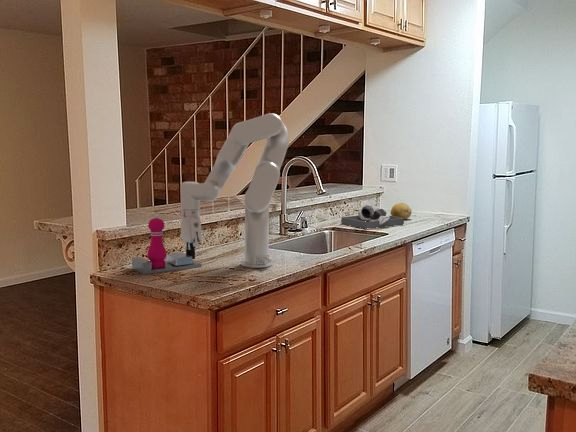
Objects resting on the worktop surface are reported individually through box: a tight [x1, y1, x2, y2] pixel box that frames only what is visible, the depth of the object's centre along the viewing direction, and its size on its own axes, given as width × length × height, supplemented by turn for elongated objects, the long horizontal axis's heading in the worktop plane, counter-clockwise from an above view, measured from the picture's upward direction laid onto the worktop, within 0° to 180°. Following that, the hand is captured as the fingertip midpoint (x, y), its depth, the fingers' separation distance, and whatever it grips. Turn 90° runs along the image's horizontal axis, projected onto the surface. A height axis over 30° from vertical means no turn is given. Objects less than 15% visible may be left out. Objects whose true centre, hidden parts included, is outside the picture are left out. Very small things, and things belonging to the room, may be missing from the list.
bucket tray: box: [340, 215, 405, 230], centre depth 339 cm, size 21×29×4 cm
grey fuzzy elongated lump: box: [357, 205, 391, 225], centre depth 337 cm, size 25×10×10 cm, turn 26°
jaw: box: [165, 252, 193, 265], centre depth 232 cm, size 9×7×3 cm
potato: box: [390, 202, 412, 220], centre depth 360 cm, size 10×12×10 cm
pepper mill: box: [146, 213, 168, 268], centre depth 225 cm, size 7×7×20 cm
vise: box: [131, 256, 203, 276], centre depth 229 cm, size 11×24×4 cm, turn 126°
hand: (190, 258), depth 235 cm, fingers closed
